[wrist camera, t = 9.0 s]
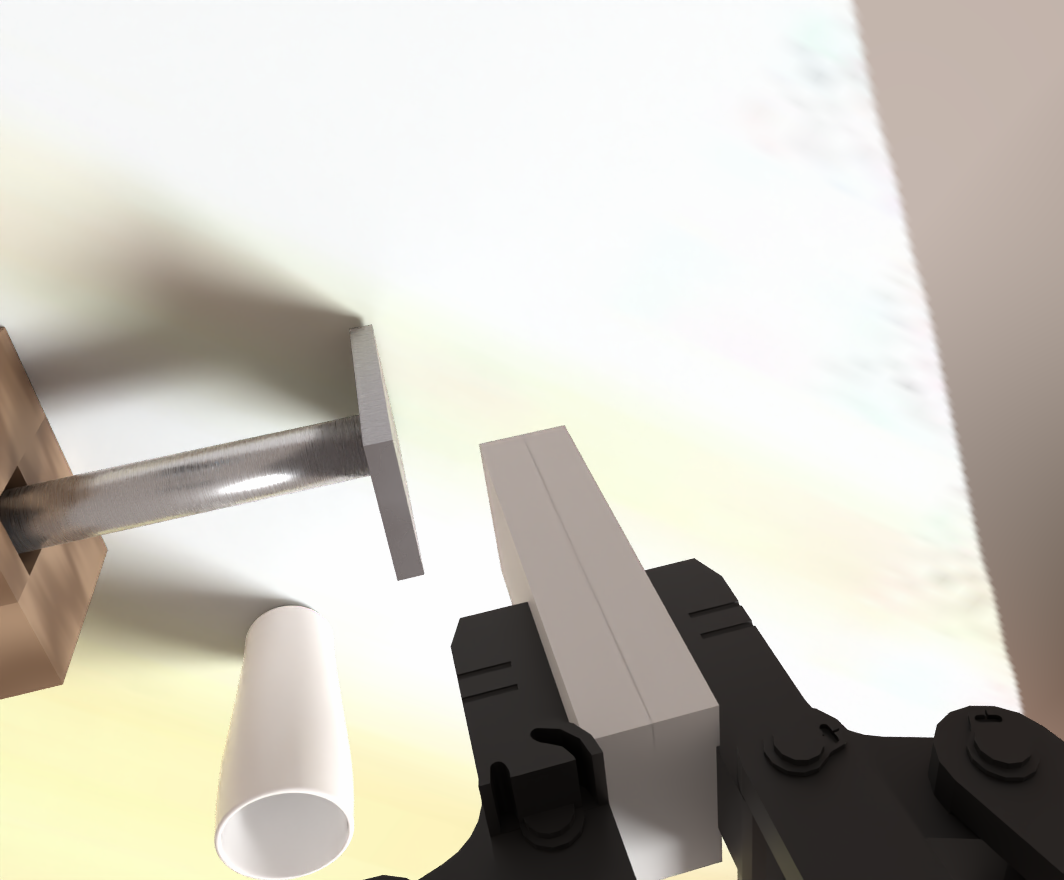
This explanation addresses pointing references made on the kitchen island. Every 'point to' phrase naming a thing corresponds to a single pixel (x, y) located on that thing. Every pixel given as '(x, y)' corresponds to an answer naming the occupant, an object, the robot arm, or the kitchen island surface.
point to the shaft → (233, 477)
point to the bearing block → (44, 574)
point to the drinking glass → (286, 753)
